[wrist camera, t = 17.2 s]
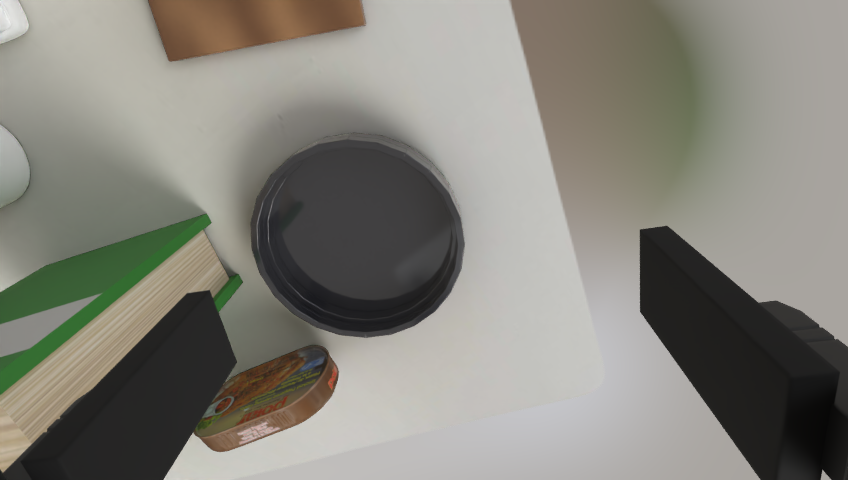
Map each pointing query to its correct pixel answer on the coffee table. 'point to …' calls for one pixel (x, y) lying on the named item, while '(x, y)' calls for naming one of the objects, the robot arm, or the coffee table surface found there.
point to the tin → (269, 399)
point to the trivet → (246, 23)
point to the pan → (358, 235)
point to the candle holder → (12, 168)
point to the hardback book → (92, 320)
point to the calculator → (12, 20)
